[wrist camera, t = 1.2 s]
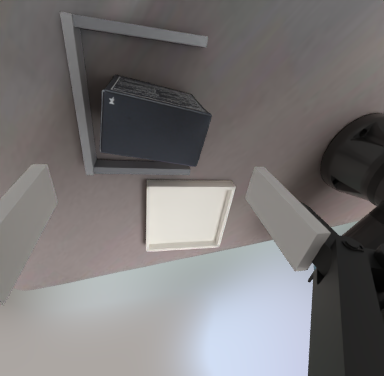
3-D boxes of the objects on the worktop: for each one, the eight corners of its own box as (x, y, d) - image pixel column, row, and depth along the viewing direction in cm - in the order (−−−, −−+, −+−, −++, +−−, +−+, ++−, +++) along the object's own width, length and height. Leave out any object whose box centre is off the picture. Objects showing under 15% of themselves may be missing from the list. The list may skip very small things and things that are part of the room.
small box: (110, 124, 30) (96, 155, 21) (113, 73, 26) (98, 85, 18) (182, 138, 33) (196, 170, 24) (193, 93, 30) (214, 112, 21)
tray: (231, 180, 39) (235, 187, 37) (216, 239, 47) (219, 247, 45) (146, 179, 35) (146, 186, 34) (146, 243, 43) (146, 251, 42)
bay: (203, 37, 26) (209, 36, 24) (187, 167, 36) (190, 176, 33) (68, 15, 23) (59, 11, 20) (90, 165, 32) (86, 175, 30)
